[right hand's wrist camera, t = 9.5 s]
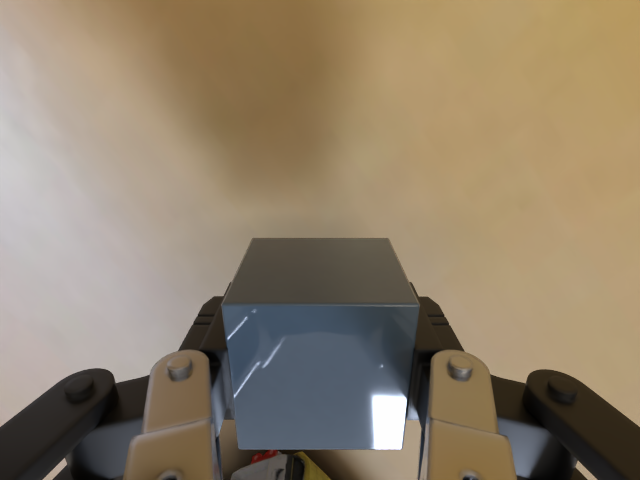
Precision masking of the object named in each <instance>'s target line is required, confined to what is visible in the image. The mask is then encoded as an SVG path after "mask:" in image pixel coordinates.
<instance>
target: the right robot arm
mask: <svg viewBox="0 0 640 480" xmlns="http://www.w3.org/2000/svg"><path fill="white" fill-rule="evenodd" d="M231 283H232V282H230V284H229V286H228V288H227V290H226V292H225V294H224V296H214V297H213V298H212V299H210V300H209V301H208V302H206V303H205V304H204V305H203V306H202V308H201V310H200V312H199V314H198V317H196V319H195V321H194V323H193V325H192V326H191V328H190V330H189V332H188V334H187V335H186V337H185V339H184V341H183V343H182V345H181V346H180V348H179V350H178V351H177V352H174V353H171V354H169V355H167V356H165V357H163V358H162V359H160V360H159V361H158V362H157V363H156V364H155V365H154V366H153V368H152V370H151V372H150V375H148V376H145V377H141V378H137V379H133V380H128V381H124V382H119V383H115V379H114V376H113V374H112V373H111V372H110V371H108V370H105V369H100V368H95V369H88V370H83V371H80V372H77V373H74V374H72V375H70V376H68V377H66V378H64V379H63V380H61V381H60V382H58V383H57V384H55V385H54V386H53V387H52V388H50V389H49V390H48V391H46V392H45V393H44V394H43V395H41V396H40V397H39V398H37V399H36V400H35V401H33V402H32V403H31V404H30V405H28V406H27V407H26V408H24V409H23V410H22V411H21V412H19V413H18V414H17V415H15V416H14V417H13V418H12V419H10V420H9V421H8V422H6V423H5V424H4V425H2V426H1V427H0V480H42V479H43V478H44V477H46V476H47V475H48V474H49V473H50V472H51V471H52V470H53V469H54V468H55V467H56V466H57V465H58V464H59V463H60V462H61V461H62V460H63V459H64V458H65V459H66V462H67V465H66V466H65V467H64V468H63V469H62V470H61V472H60V473H59V474H58V475H57V476H56V477H55V478H54V479H53V480H223V471H222V458H221V445H220V436H219V432H220V429H221V426H222V423H223V419H236V414H235V406H234V397H233V388H232V380H231V371H230V362H229V354H228V348H226V341H225V333H224V324H223V316H222V307H221V305H222V302H223V300H224V298H225V296H226V294H227V291H228V289H229V287H230V285H231ZM409 283H410V285H411V287H412V289H413V291H414V294H415V296H416V298H417V300H418V302H419V304H420V308H419V316H418V325H417V333H416V341H415V348H414V356H413V365H412V373H411V381H410V390H409V398H408V407H407V415H406V418H407V420H419V421H420V425H421V428H422V429H421V436H420V445H419V458H418V471H417V480H587V479H586V478H585V477H584V476H583V475H582V474H581V473H580V472H579V470H578V469H577V468H576V467H575V466H576V464H577V461H579V462H580V463H581V464H582V465H583V466H584V467H585V468H586V469H587V470H588V471H589V472H590V473H591V474H592V475H593V476H595V477H596V478H597V479H598V480H640V427H639V426H638V425H636V424H635V423H634V422H632V421H631V420H630V419H629V418H627V417H626V416H625V415H623V414H622V413H621V412H619V411H618V410H617V409H616V408H614V407H613V406H612V405H610V404H609V403H608V402H607V401H605V400H604V399H603V398H601V397H600V396H599V395H597V394H596V393H595V392H594V391H592V390H591V389H590V388H588V387H587V386H586V385H585V384H583V383H582V382H580V381H579V380H577V379H575V378H573V377H571V376H569V375H567V374H564V373H561V372H558V371H554V370H546V369H545V370H536V371H533V372H532V373H530V374H529V375H528V378H527V381H526V384H525V383H521V382H517V381H512V380H508V379H503V378H500V377H496V376H493V375H491V374H490V372H489V369H488V368H487V366H486V365H485V364H484V363H483V362H482V361H481V360H480V359H478V358H477V357H475V356H473V355H471V354H469V353H466V352H465V351H464V349H463V348H462V346H461V344H460V342H459V341H458V339H457V337H456V335H455V333H454V332H453V330H452V328H451V326H450V325H449V323H448V321H447V319H446V317H444V314H443V312H442V310H441V308H440V306H439V305H438V304H437V303H435V302H434V301H433V300H431V299H430V298H429V297H418V294H417V292H416V290H415V288H414V286H413V284H412V283H411V282H409Z"/></svg>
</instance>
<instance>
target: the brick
mask: <svg viewBox="0 0 640 480" xmlns="http://www.w3.org/2000/svg"><path fill="white" fill-rule="evenodd" d="M221 307H222V316H223V324H224V333H225V341H226V348H228V354H229V362H230V371H231V380H232V388H233V397H234V406H235V414H236V419H235V426H236V435H237V443H238V448H239V449H240V450H401V449H402V448H403V442H404V434H405V426H406V415H407V407H408V398H409V390H410V381H411V373H412V365H413V356H414V348H415V341H416V333H417V325H418V316H419V308H420V304H419V302H418V300H417V298H416V296H415V294H414V291H413V289H412V287H411V285H410V283H409V281H408V279H407V276H406V274H405V272H404V270H403V268H402V266H401V264H400V262H399V259H398V257H397V255H396V253H395V251H394V249H393V247H392V245H391V242H390V240H389V239H388V238H253V239H252V240H251V242H250V244H249V247H248V249H247V251H246V253H245V255H244V257H243V259H242V261H241V264H240V266H239V268H238V270H237V272H236V274H235V276H234V279H233V281H232V283H231V285H230V287H229V289H228V291H227V294H226V296H225V298H224V300H223V302H222V305H221Z"/></svg>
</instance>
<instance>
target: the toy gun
mask: <svg viewBox="0 0 640 480" xmlns="http://www.w3.org/2000/svg"><path fill="white" fill-rule="evenodd" d="M231 480H331V479H330V478H329V477H328V476H327V475H326V474H325V473H324V472H323V471H322V470H321V469H320V468H319V467H318V466H317V465H316V464H315V463H314V462H313V461H312V460H311V459H310V458H309V457H308V456H307V455H306V454H305V453H304V452H303V451H301V452H298V453H295V454H293V455H290V454H282V453H281V452H279V451H278V450H268V451H267V452H266V453H265V454H264V456H263V455H262V454H260V453H257V454H255V455H254V456H253V457H252V461H251V465H248V466H246V467H243V468H240V469H239V470H237V471H236V472H234V473H232V476H231Z"/></svg>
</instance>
